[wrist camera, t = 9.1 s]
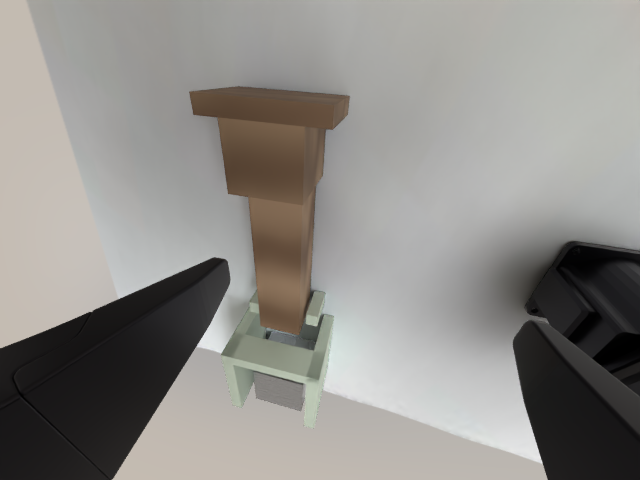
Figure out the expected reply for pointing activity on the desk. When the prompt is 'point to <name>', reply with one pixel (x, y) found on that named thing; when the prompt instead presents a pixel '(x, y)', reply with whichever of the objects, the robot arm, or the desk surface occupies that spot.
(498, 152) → the desk surface
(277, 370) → the cradle
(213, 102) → the brown wooden stepped block
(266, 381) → the block
